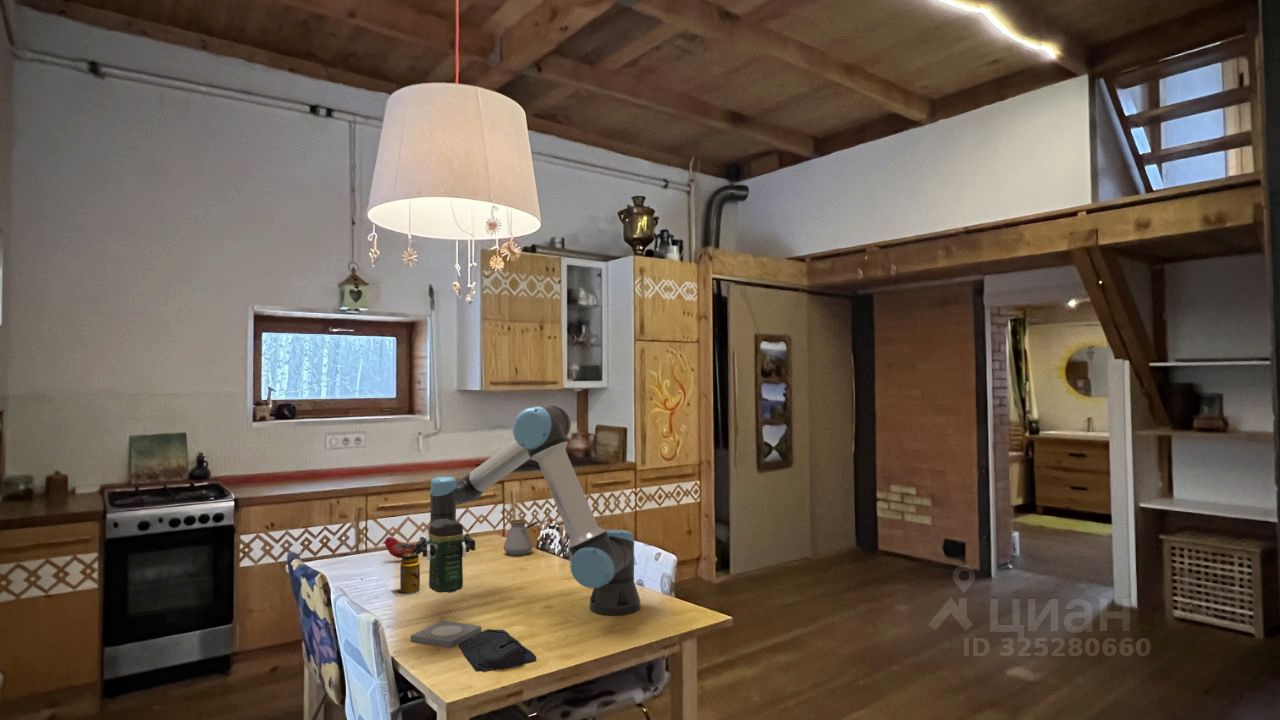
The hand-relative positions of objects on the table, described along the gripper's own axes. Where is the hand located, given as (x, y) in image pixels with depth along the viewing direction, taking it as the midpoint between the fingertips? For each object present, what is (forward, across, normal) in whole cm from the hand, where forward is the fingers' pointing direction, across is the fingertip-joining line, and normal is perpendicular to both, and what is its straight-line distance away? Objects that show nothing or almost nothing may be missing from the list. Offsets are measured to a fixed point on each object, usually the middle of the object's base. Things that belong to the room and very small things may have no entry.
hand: (446, 553), depth 192 cm
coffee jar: (-5, 0, -11) cm, 12 cm away
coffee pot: (-87, -32, -23) cm, 96 cm away
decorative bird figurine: (-93, +11, -24) cm, 96 cm away
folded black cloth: (+12, -12, -24) cm, 29 cm away
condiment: (-51, +11, -24) cm, 58 cm away
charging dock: (-5, 0, -23) cm, 24 cm away
